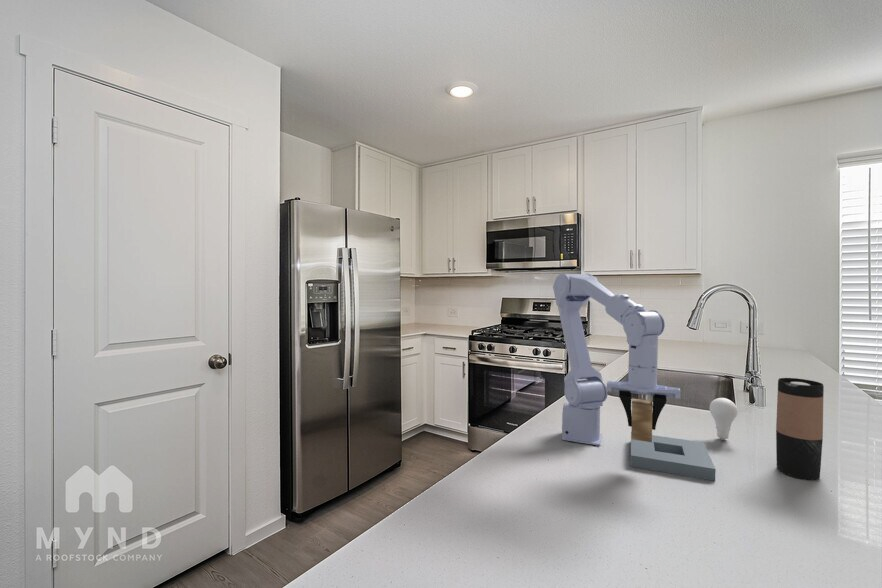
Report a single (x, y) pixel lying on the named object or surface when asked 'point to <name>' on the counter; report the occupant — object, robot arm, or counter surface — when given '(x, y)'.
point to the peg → (641, 420)
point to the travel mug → (799, 428)
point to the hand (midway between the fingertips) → (641, 426)
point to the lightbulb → (723, 415)
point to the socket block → (673, 457)
